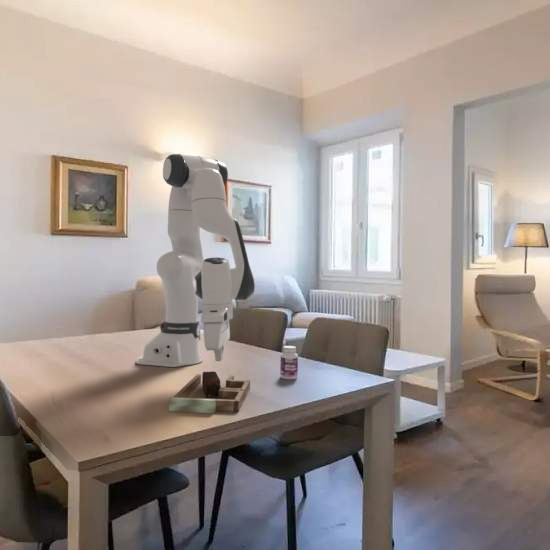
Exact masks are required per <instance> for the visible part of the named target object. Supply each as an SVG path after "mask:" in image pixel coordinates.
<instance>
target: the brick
mask: <svg viewBox="0 0 550 550" xmlns="http://www.w3.org/2000/svg"><path fill="white" fill-rule="evenodd" d="M201 384H202V389H203V393H204V396H205V397H206V399H211V398H212V397H214V398H218V391H219V389H220V388H222V386H221V379H220V377H219V375H218V373H217V372H216V371H203V372H202V374H201Z"/></svg>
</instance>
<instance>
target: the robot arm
mask: <svg viewBox="0 0 550 550" xmlns="http://www.w3.org/2000/svg"><path fill="white" fill-rule="evenodd" d="M162 177H163V180H164V182H165V183H166V184H167V185H168V186H171V188H170V193H169V200H168V209H167V213H168V214H167V215H168V216H167V235H168V237H169V240H170V242H171V247H172V250H171V251H168V252H166V253H164V254H162V255H160V257H159V258H158V260H157V262H156V272H157V274H158V276H159V278H160V279H161V282H162V286H163V291H164V296H165V321H163V322H162V323H161V324H159V327H158V328H159V329H160V332H159V333H157V334H156V335H155V336H154V337H153V338H151V339H150V340H149V341H148V342H147V343H146V344H145V345H144V348H143V353H142V355H141V356H139V357H138V358H136V362H135V363H136V364H137V365H143V366H144V365H146V366H157V367H158V366H159V367H166V368H167V367H168V368H178V367H183V366H190V365H196V364H199V363H201V362H203V358H202V355H201V350H200V343H199V341H200V340H198V337H199V329H200V322H201V324H203V326H202V328H203V329H202V330H203V338H204V341H203V342H204V346H205V349H206V351H213V353H214V359H215V362H221V361H222V360H223V359H224V349H225V344H226V343H227V342H228V341H229V340H230V338H231V333H230V332H231V330H230V320H232V319H233V318H234V310H233V309H234V307H233V300H234V301H246V300H247V299H249V298H251V296H252V295H253V294H254V292H255V289H256V288H255V287H256V284H255V278H254V275H253V272H252V269H251V266H250V263H249V258H248V253H247V251H246V250H247V249H246V245H245V240H244V237H243V233H242V230H241V226H240V224H239V222H238V220H237V219H236V218H234V217H233V216H232V215H231V213H230V211H229V209H228V205H227V194H226V189H225V186H226V185H227V182H228V179H229V171H228V168H227V166H226V164H225V163H224V162H221V161H219V160H217V159H211V158H207V157H204V156H203V157H202V156H200V155H196V156H195V155H183V154H180V153H174V154H169V155H168V156H167V157H166V158H165V160H164V162H163V166H162ZM200 229H202V230H204V231H206V232H208V233H211V234H213V235H217V236H219V237H221V238H223V239H225V240H226V241H227V242H228V243H229V245H230V248H231V251H232V256H233V260H234V264H235V267H234V268H231V265H230V262H229V260H228V259H226V258H223V257H208V258H205V259H204V257H203V249H202V242H201V235H200V231H201V230H200ZM194 282H195V287H194ZM198 298H200V299H201V300H202V302H201V306H202V307H201V308H202V309H201V310H202V311H201V315H200V322H199V317H198V316H199V299H198Z"/></svg>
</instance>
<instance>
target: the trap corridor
mask: <svg viewBox="0 0 550 550" xmlns="http://www.w3.org/2000/svg"><path fill="white" fill-rule="evenodd" d="M201 384H202V374H199V373H198V374H196V375H194V376H193V378H191V379H190V380H189V381H188V382H187V383H186V384H185V385H184V386H183V387H181V389H180V390H178V392H177V393H176V394H174V396H172V397H171V396H170V398H169V399H168V412H177V413H178V412H179V413H183V412H184V413H198V414H199V413H200V414H201V413H202V414H203V413H204V414H216V412H232V413H233V412H234V413H235V412H237V413H238V412H239V411H240V410H241V408H242V406H243V404H244V401H245V400H246V398H247V396H248V394H249V392H250V390H251V381H250V380H248V379H247V380H246V379H245V380H243V379H242V380H241V379H235V375H229V376H228V377H227V379H226V380H225V387H221V388H220V389H219V391H218V397H217V398H195V397H189V396H191V394H193V392H194V391H195V390H196V389H197V388H198V387H199V385H201Z"/></svg>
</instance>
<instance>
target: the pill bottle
mask: <svg viewBox="0 0 550 550" xmlns="http://www.w3.org/2000/svg"><path fill="white" fill-rule="evenodd" d="M282 351H283V352H282V353H281V354H280V366H279V367H280V371H279V372H280V373H279V377H280V378H281V379H284V380H296V379H297V378H298V370H299V355H298V353H297V347H296V346H295V345H294V346H293V345H284V346H282Z"/></svg>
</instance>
